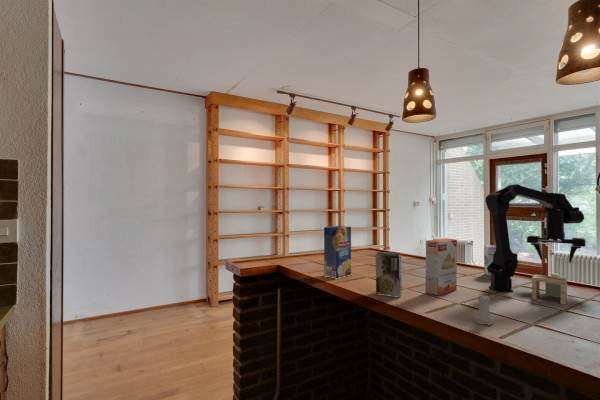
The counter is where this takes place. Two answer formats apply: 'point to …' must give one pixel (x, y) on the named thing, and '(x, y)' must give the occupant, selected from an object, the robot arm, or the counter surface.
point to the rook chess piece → (484, 310)
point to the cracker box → (441, 266)
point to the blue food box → (337, 251)
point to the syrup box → (488, 257)
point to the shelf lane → (558, 280)
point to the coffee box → (388, 273)
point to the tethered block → (553, 288)
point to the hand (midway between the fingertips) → (555, 261)
